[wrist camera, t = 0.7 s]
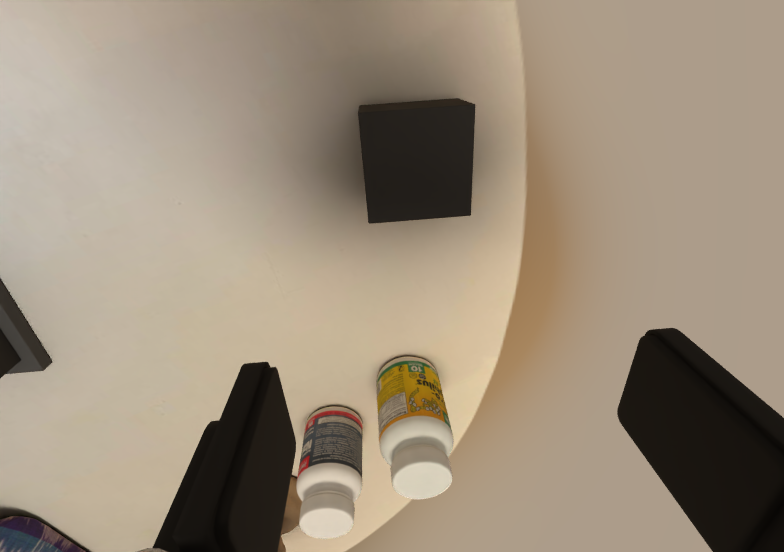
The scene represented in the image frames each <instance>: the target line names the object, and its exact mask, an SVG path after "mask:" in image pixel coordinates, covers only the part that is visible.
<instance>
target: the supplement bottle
mask: <svg viewBox="0 0 784 552" xmlns="http://www.w3.org/2000/svg"><path fill="white" fill-rule="evenodd" d="M377 404H378V425H379V443H380V451H381V454H382V456H383V458H384V459H385V461H386V462H387V463H388V464H389V465H390V466H391V468H390V469H391V477H392V485H393V488H394V490H395V491H396V492H397V493H398V494H400V495H401V496H403V497H406V498H410V499H427V498H431V497H434V496H436V495H439V494H441V493H443V492H444V491H445V490H446V489H447V488H448V487H449V486H450V484H451V482H452V472H451V466H450V461H449V458H448V457H449V455H450V454H451V451H452V448H453V434H452V430H451V426H450V422H449V418H448V414H447V410H446V406H445V402H444V398H443V394H442V390H441V385H440V381H439V378H438V374H437V371H436V369H435V368H434V367H433V365H432V364H430V363H429V362H428V361H426V360H424V359H421V358H416V357H400V358H397V359H394V360H392V361H390V362H389V363H387V364H386V365H385V366H384V367H383V368H382V369H381V371H380V372H379V374H378V377H377Z"/></svg>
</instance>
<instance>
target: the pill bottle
mask: <svg viewBox="0 0 784 552" xmlns="http://www.w3.org/2000/svg"><path fill="white" fill-rule="evenodd" d="M362 439H363V425H362V421H361V419H360V417H359V416H358V415H357V414H356V413H355V412H353V411H352V410H349V409H347V408H344V407H336V406H333V407H326V408H322V409H320V410H318V411H316V412H314V413H313V414H312V415H311V416H310V417H309V419H308V421H307V423H306V428H305V433H304V440H303V447H302V453H301V459H300V465H299V471H298V477H297V485H296V488H297V493H298V496H299V498H300V499H301V500H302V505H301V509H300V519H299V525H300V528H301V530H302V531H303V532H304V533H305V534H307V535H309V536H311V537H314V538H319V539H332V538H337V537H340V536H343V535H345V534H347V533H348V532H349V531H350V530H351V529H352V527H353V524H354V511H355V508H354V502H355V501H356V500H357V499H358V497H359V495H360V493H361V490H362Z"/></svg>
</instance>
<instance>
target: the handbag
mask: <svg viewBox="0 0 784 552" xmlns="http://www.w3.org/2000/svg"><path fill="white" fill-rule="evenodd" d="M0 552H86V551H84V550H83V549H81V548H79V547H78V546H76V545H75V544H73V543H72V542H70V541H69V540H67V539H66V538H64V537H63V536H61V535H60V534H58V533H57V532H55V531H54V530H53V529H51V528H50V527H48V526H47V525H45V524H43V523H42V522H40V521H38V520H36V519H34V518H28V517H23V516H12V517H8V518H4V519H0Z"/></svg>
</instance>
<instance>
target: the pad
mask: <svg viewBox="0 0 784 552" xmlns="http://www.w3.org/2000/svg"><path fill="white" fill-rule="evenodd" d="M358 116H359V126H360V137H361V148H362V158H363V169H364V179H365V190H366V201H367V211H368V222H369V223H382V222H395V221H408V220H420V219H433V218H446V217H458V216H470V215H471V198H472V173H473V149H474V124H475V104H472V103H469V102H467V101H464V100H461V99H444V100H430V101H416V102H401V103H387V104H373V105H360V106H359V112H358Z"/></svg>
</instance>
